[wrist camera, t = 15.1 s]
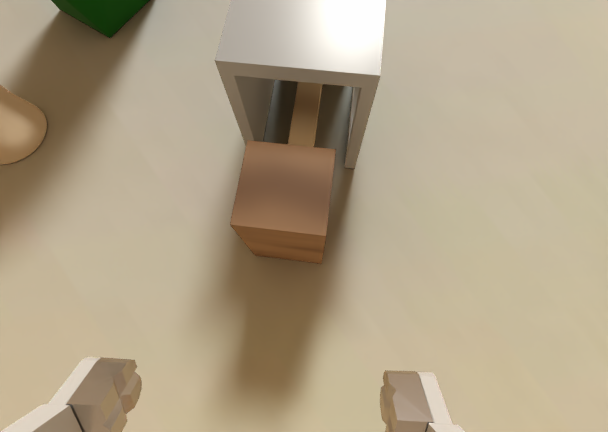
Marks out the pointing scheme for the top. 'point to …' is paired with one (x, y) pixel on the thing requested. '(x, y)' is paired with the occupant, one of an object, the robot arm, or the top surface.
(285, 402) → the top surface
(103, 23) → the milk carton
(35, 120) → the beer glass
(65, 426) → the robot arm
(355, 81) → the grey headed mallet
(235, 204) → the walnut block
